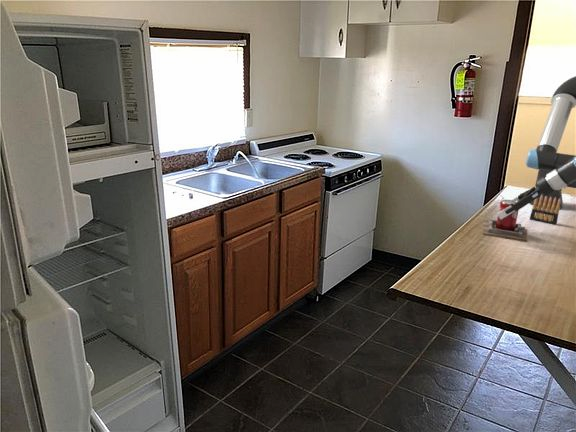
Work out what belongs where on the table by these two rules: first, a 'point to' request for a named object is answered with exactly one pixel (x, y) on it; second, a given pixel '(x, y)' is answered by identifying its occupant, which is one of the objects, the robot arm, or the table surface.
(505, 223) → the soda can
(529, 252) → the table surface
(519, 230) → the keeper board
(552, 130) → the robot arm
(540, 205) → the ammunition clip
